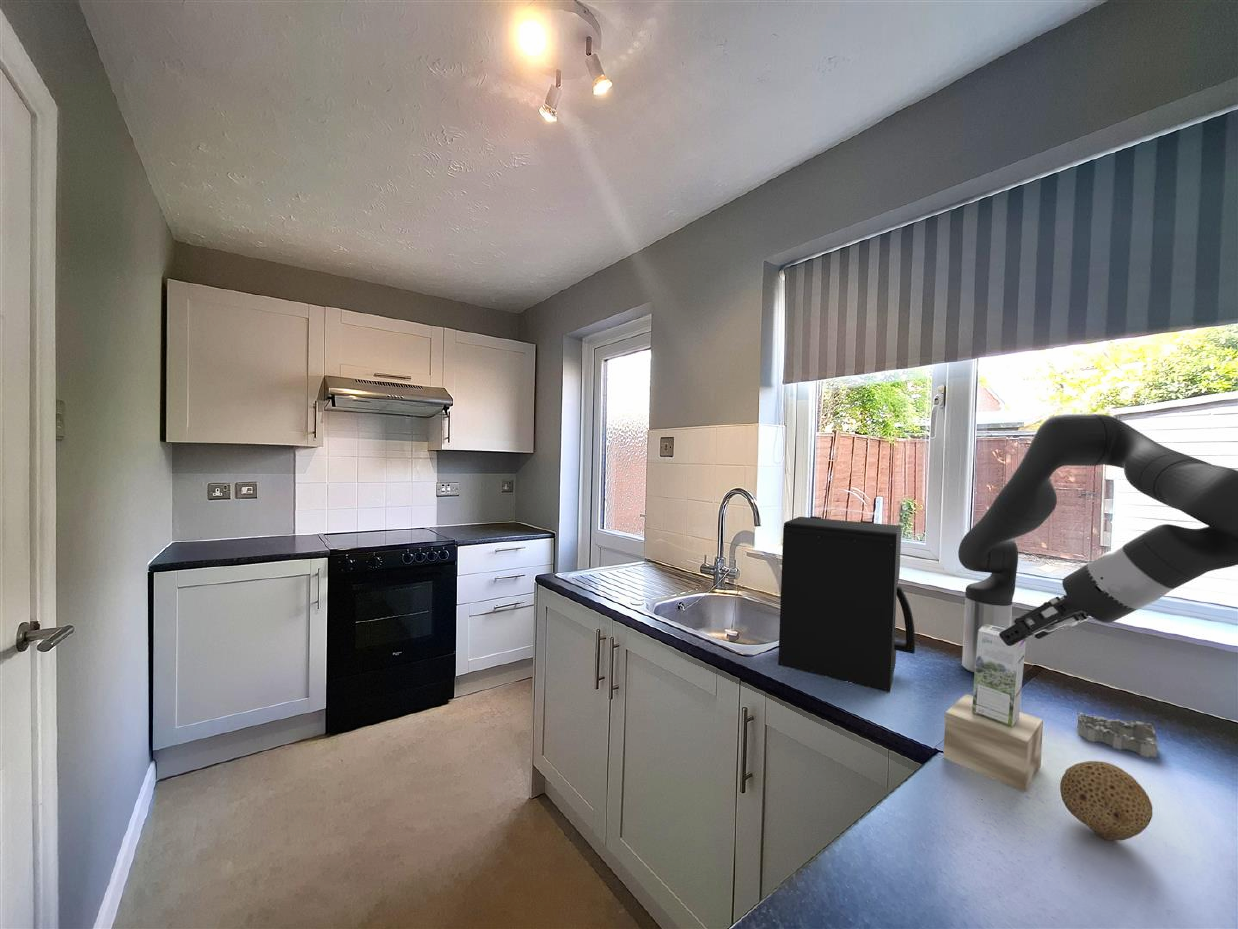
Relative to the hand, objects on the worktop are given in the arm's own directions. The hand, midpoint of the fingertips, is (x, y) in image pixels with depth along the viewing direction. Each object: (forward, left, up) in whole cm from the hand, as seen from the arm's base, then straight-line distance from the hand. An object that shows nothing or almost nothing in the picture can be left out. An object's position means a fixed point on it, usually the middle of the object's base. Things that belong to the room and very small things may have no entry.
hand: (1018, 636), depth 81 cm
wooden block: (0, -3, -23) cm, 23 cm away
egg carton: (-29, +3, -23) cm, 37 cm away
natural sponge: (+5, +13, -23) cm, 26 cm away
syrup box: (-1, -3, -15) cm, 15 cm away
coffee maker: (-10, -40, -23) cm, 47 cm away
